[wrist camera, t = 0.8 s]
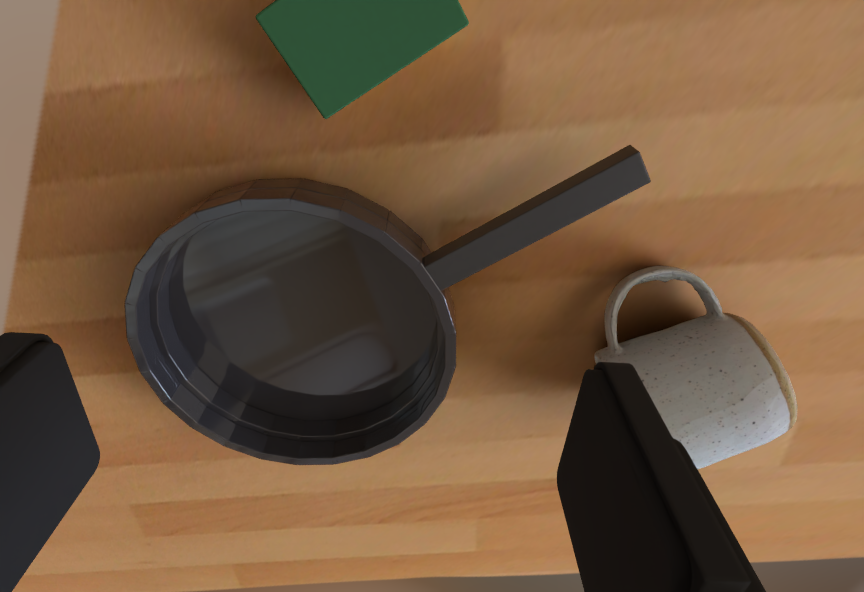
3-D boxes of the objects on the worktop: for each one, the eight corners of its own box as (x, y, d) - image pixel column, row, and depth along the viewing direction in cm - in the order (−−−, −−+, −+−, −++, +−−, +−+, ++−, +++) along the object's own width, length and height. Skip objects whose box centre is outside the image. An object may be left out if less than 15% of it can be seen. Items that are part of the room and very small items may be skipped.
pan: (90, 273, 29) (50, 306, 26) (339, 108, 24) (326, 124, 21) (286, 457, 36) (273, 499, 33) (503, 356, 32) (511, 394, 29)
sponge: (273, 13, 22) (253, 16, 20) (410, -90, 21) (407, -102, 18) (335, 106, 24) (324, 120, 22) (465, 20, 23) (469, 23, 20)
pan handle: (421, 257, 26) (421, 268, 25) (630, 144, 23) (639, 151, 22) (437, 281, 27) (438, 292, 26) (642, 173, 24) (651, 182, 23)
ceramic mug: (741, 372, 33) (821, 468, 26) (615, 415, 34) (659, 514, 28) (708, 232, 28) (795, 305, 21) (564, 290, 30) (602, 374, 23)
